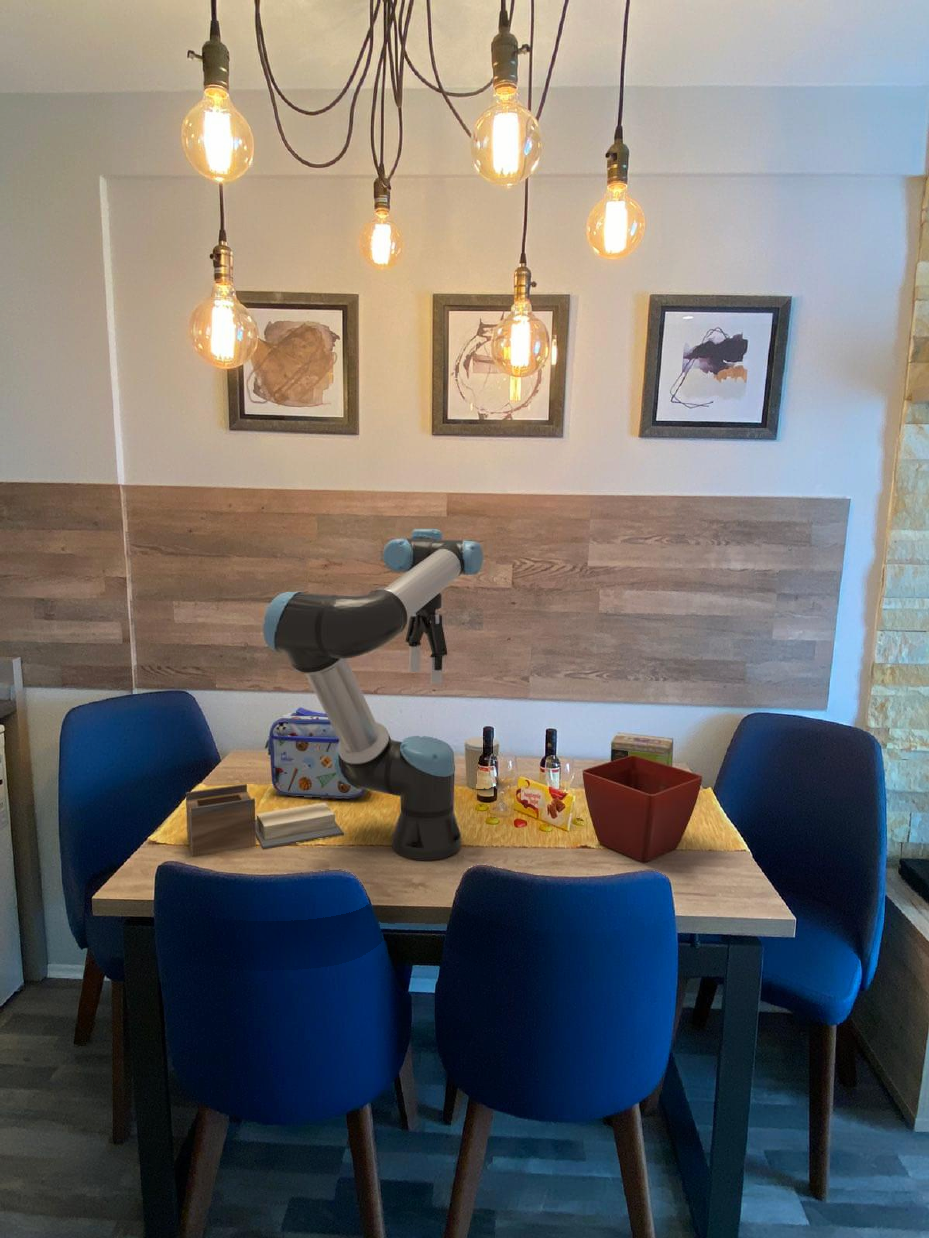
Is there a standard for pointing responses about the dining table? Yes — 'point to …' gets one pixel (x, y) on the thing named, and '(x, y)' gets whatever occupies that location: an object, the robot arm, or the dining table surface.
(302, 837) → the charcoal mat
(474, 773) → the coffee cup
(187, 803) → the walnut box
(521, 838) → the dining table surface
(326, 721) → the lunch box
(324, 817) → the birch lid
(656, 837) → the plant pot
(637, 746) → the tea box
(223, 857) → the dining table surface
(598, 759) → the dining table surface
